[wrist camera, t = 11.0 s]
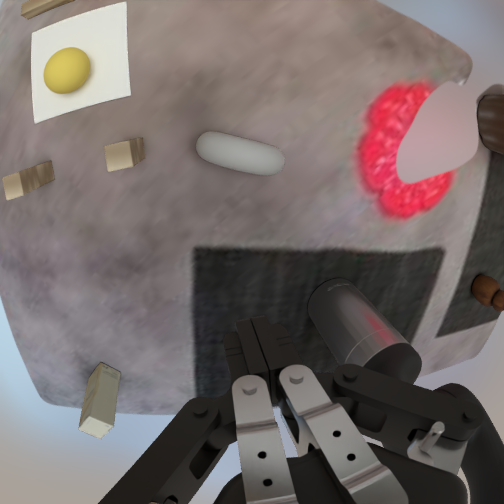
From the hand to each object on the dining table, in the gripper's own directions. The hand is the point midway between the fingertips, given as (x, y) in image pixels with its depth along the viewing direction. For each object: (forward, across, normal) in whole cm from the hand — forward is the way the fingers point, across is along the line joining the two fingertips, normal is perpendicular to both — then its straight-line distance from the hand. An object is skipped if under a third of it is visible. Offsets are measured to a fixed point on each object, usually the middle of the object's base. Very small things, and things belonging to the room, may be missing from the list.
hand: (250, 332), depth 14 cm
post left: (+27, +22, -8) cm, 35 cm away
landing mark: (+27, +15, -22) cm, 38 cm away
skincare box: (+27, +24, +28) cm, 46 cm away
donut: (+27, -4, -6) cm, 28 cm away
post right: (+27, +8, -8) cm, 29 cm away
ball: (+24, +15, -20) cm, 35 cm away
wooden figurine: (+27, -61, +27) cm, 72 cm away
